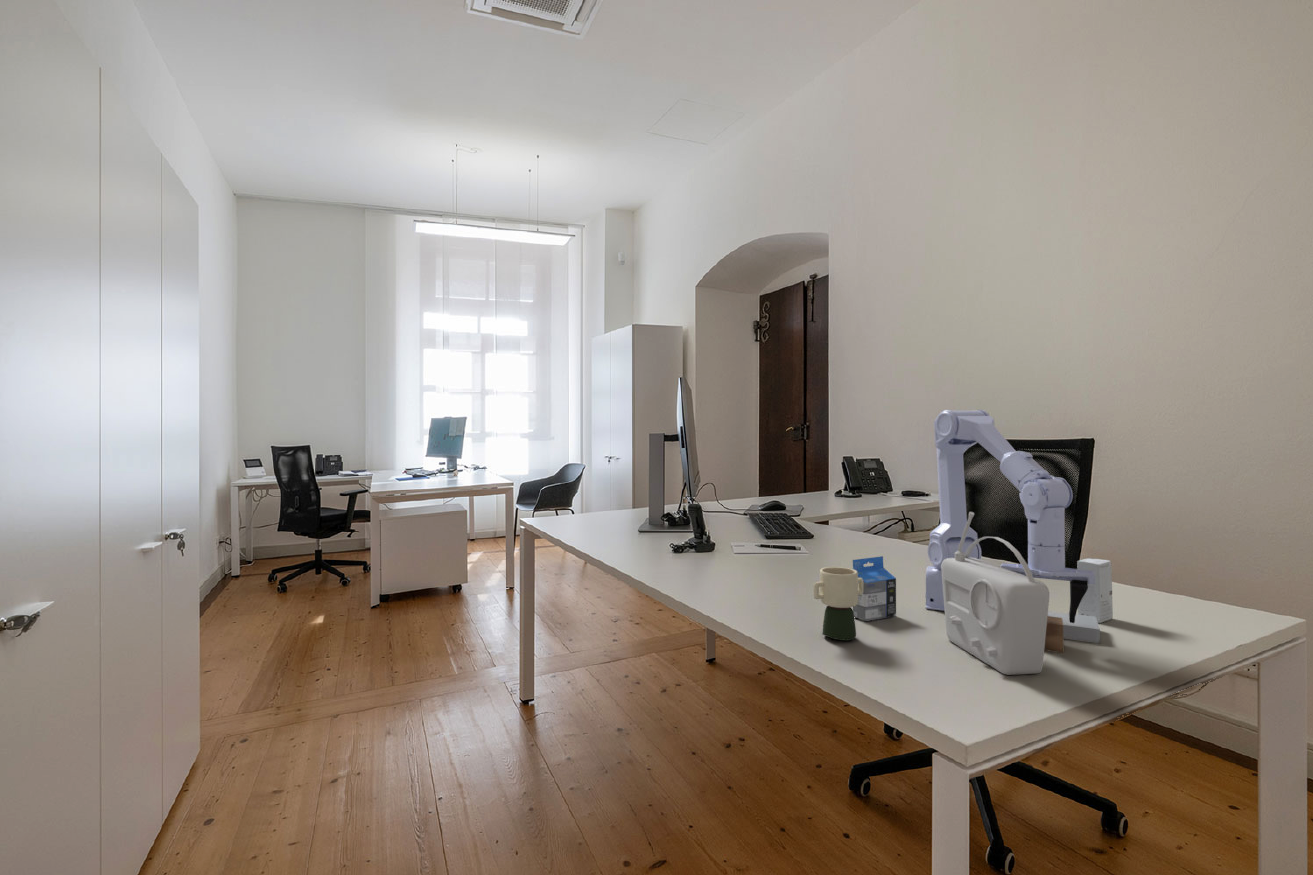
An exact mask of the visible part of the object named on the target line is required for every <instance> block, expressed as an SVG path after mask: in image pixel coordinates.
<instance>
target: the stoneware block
mask: <svg viewBox="0 0 1313 875" xmlns="http://www.w3.org/2000/svg"><path fill="white" fill-rule="evenodd" d="M1048 616H1051V617H1059V618H1062V621H1063V640H1064V639H1067V640H1074V641H1080V642H1087V643H1094V644H1100V643H1101V630H1100V626H1099V623H1098V622H1097V619H1096V617H1095V616H1086V615H1078V613H1076V616H1075V623H1070V620H1069V612H1068V613H1067V612H1060V611H1059V612H1058V611H1053V610H1048Z"/></svg>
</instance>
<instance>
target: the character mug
mask: <svg viewBox="0 0 1313 875" xmlns="http://www.w3.org/2000/svg"><path fill="white" fill-rule="evenodd" d="M861 594H863V579H862V578H858V572H857V571H856V570H854V569H853V568H849V567H841V566H827V567H826V566H825V567H822V568H820V570H819V581H816V582H814V583H813V598H814V600H820V601H821V603H822V604H823V605H826V608H825V610H824V616H823V623H822V635H823V636H826V637H829V638H831V639H832V638H834V639H833V640H838V641H839V640H840V641H851V640H854V639H855V638H857V631H856V630H857V628H856V622H855V618H854V614H853V607H854V606H856V605H857V604H858V595H861Z"/></svg>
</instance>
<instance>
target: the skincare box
mask: <svg viewBox="0 0 1313 875" xmlns="http://www.w3.org/2000/svg"><path fill="white" fill-rule="evenodd" d="M1076 562H1077V563H1076V565H1077V566H1076V567H1077V568H1076V569H1078V570H1086V571H1094V572H1095V584H1088V589H1087V591H1086V593H1085V595H1084V596H1083V598H1082V600H1081V602H1080V604H1079V607H1078V609H1077V612H1078V613H1077V614H1078V615H1086V616H1095V617H1096V619H1097V622H1098V624H1102V623H1103V622H1106V621H1110V620H1112V619H1113V617H1114V616H1113V613H1114V612H1113V581H1112V580H1113V577H1112V576H1113V575H1112V574H1113V573H1112V561H1111V560H1108V559H1101V558H1100V559H1099V558H1093V557H1092V558H1091V557H1089V558H1083V559H1081V560H1077V561H1076Z"/></svg>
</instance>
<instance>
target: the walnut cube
mask: <svg viewBox="0 0 1313 875" xmlns="http://www.w3.org/2000/svg"><path fill="white" fill-rule="evenodd" d="M1044 651H1046V652H1047V651H1049V652H1054V653H1062V654H1063V653H1064V638H1063V621H1062V618H1059V617H1051V616H1047V627H1046V637H1045V647H1044Z"/></svg>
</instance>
